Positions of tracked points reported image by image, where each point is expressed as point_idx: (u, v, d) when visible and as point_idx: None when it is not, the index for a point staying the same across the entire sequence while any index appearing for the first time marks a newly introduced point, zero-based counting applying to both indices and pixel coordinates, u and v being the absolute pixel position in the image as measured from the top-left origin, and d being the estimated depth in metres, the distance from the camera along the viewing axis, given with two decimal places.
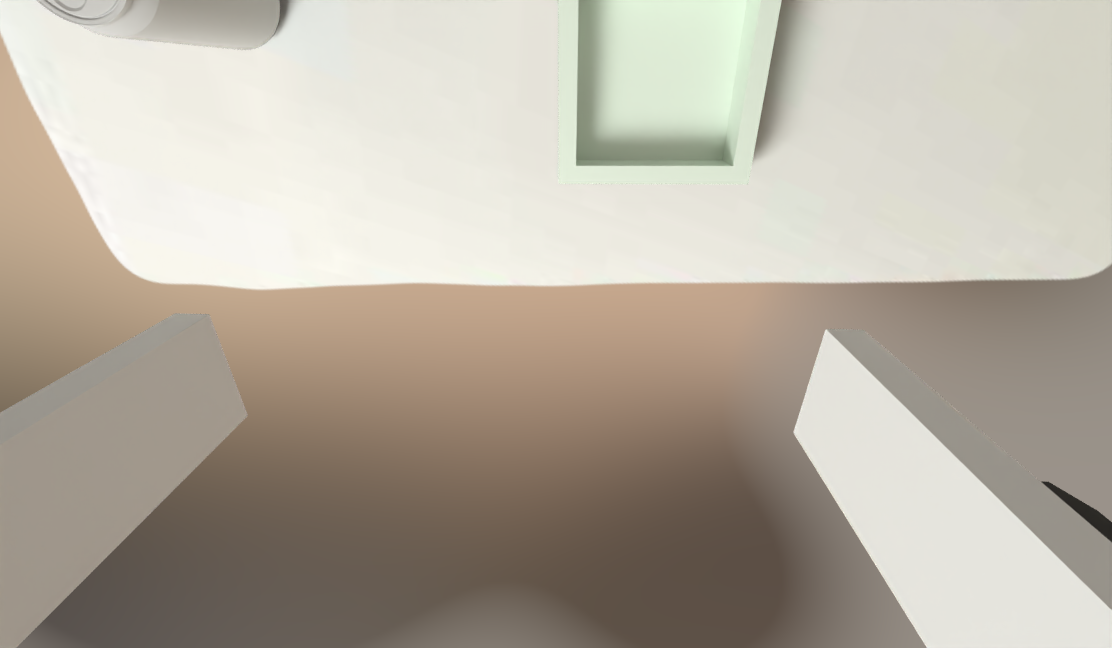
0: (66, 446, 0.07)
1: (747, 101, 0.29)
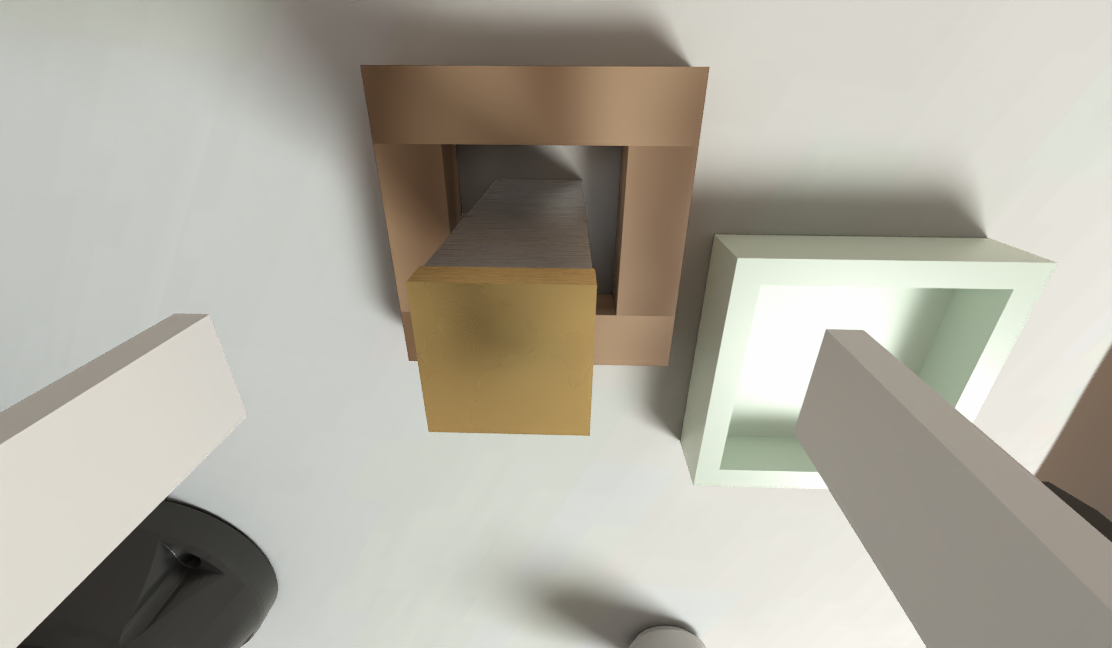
0: (65, 445, 0.07)
1: (921, 282, 0.19)
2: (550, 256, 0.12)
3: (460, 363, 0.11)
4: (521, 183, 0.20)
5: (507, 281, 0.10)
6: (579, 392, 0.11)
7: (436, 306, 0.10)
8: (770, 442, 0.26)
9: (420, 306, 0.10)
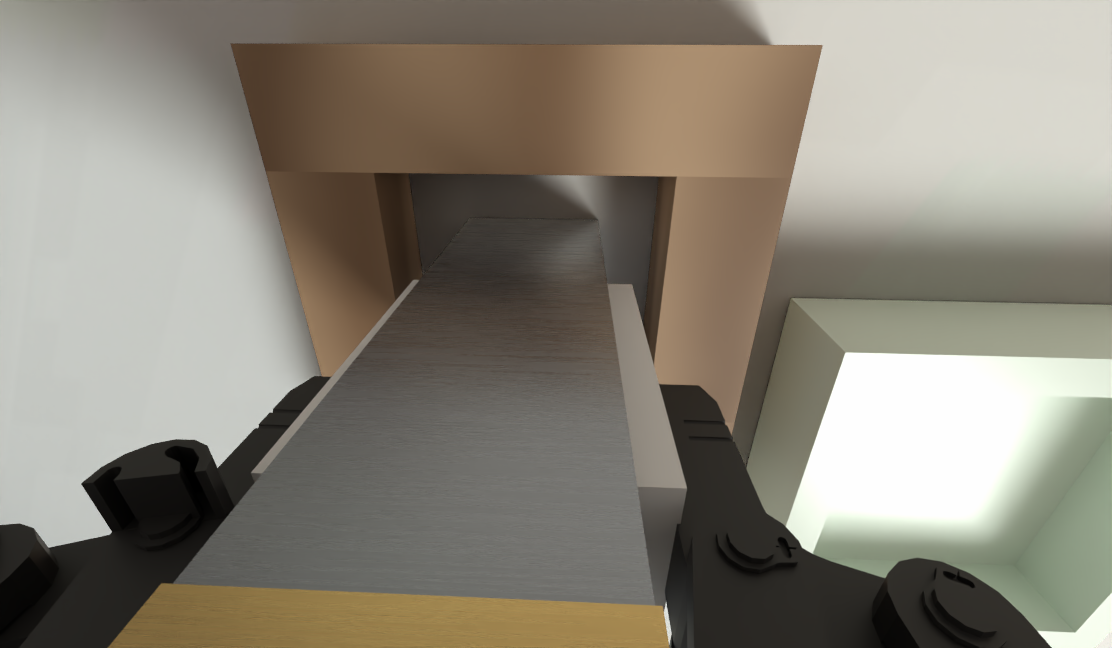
0: None
1: None
2: (538, 504, 0.05)
3: None
4: (506, 228, 0.13)
5: None
6: None
7: None
8: None
9: None
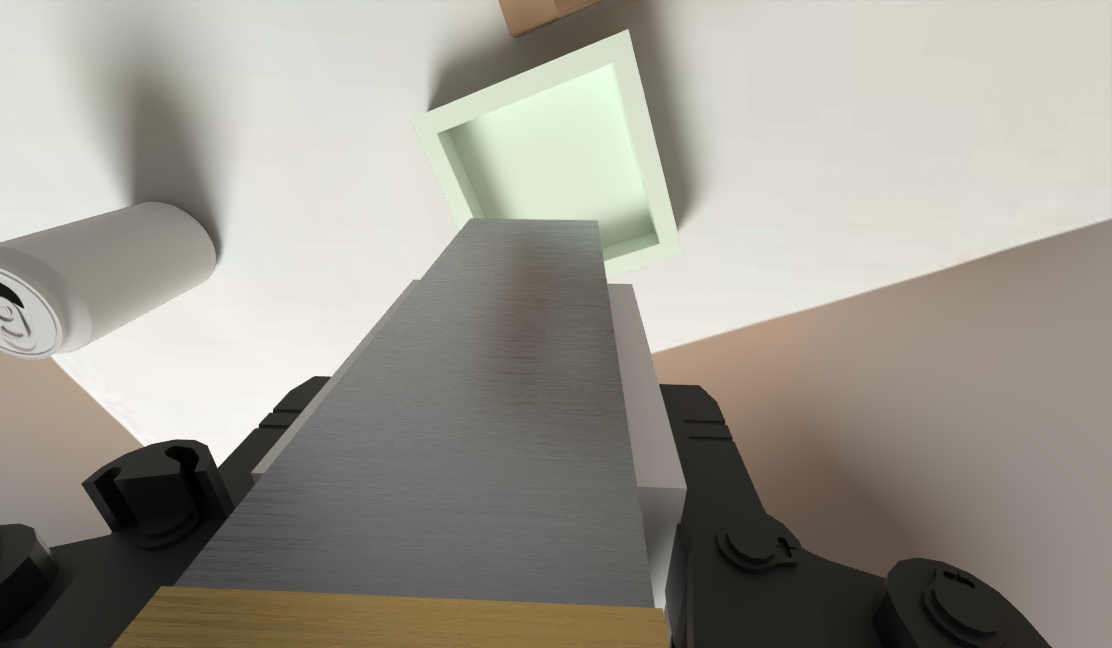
0: None
1: (648, 182, 0.28)
2: (538, 506, 0.05)
3: None
4: (506, 229, 0.13)
5: None
6: None
7: None
8: (469, 185, 0.30)
9: None
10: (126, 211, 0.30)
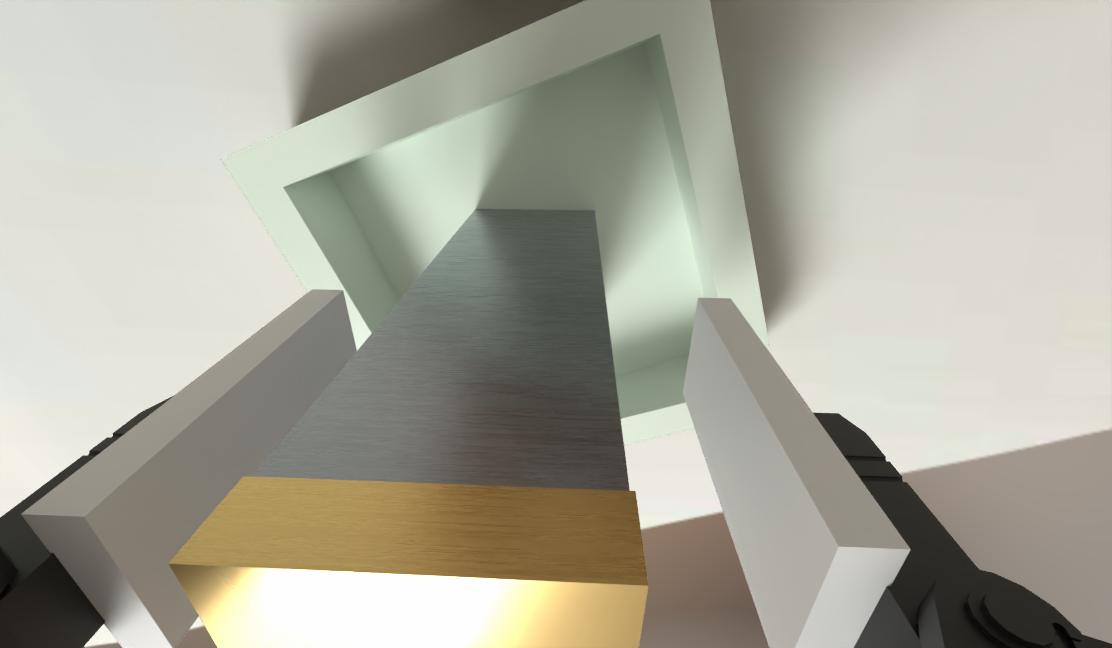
0: (264, 394, 0.08)
1: (722, 282, 0.13)
2: (538, 427, 0.06)
3: None
4: (509, 218, 0.14)
5: (424, 556, 0.04)
6: None
7: (254, 608, 0.04)
8: (378, 272, 0.16)
9: (217, 606, 0.04)
10: None
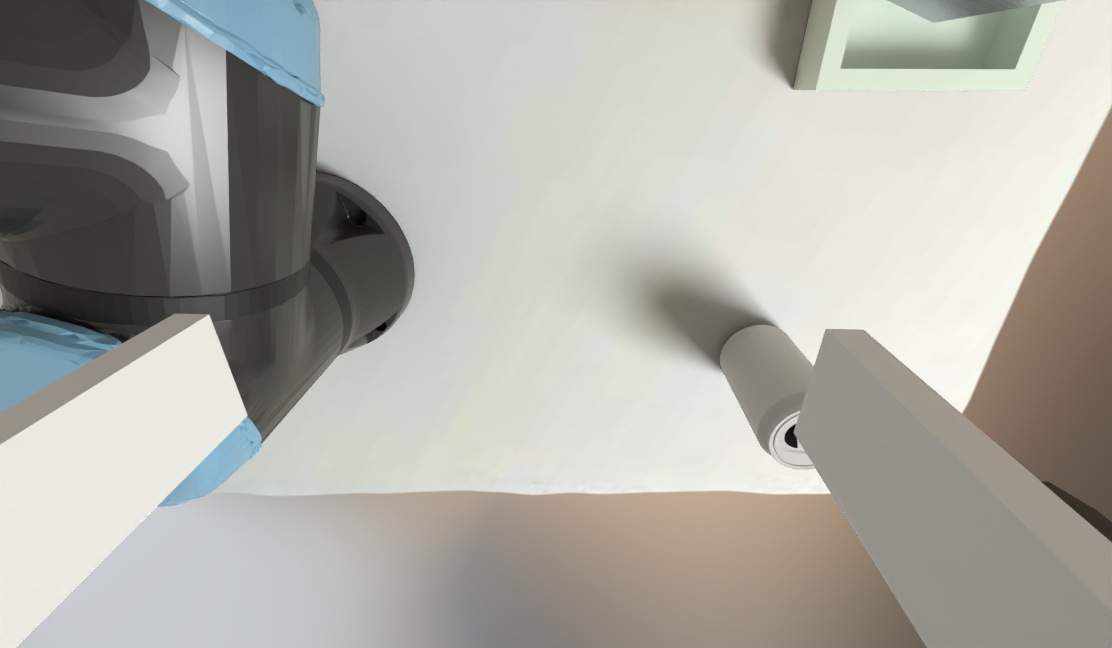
0: (65, 445, 0.07)
1: None
2: None
3: None
4: None
5: None
6: None
7: None
8: None
9: None
10: (736, 356, 0.39)
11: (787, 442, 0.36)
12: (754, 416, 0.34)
